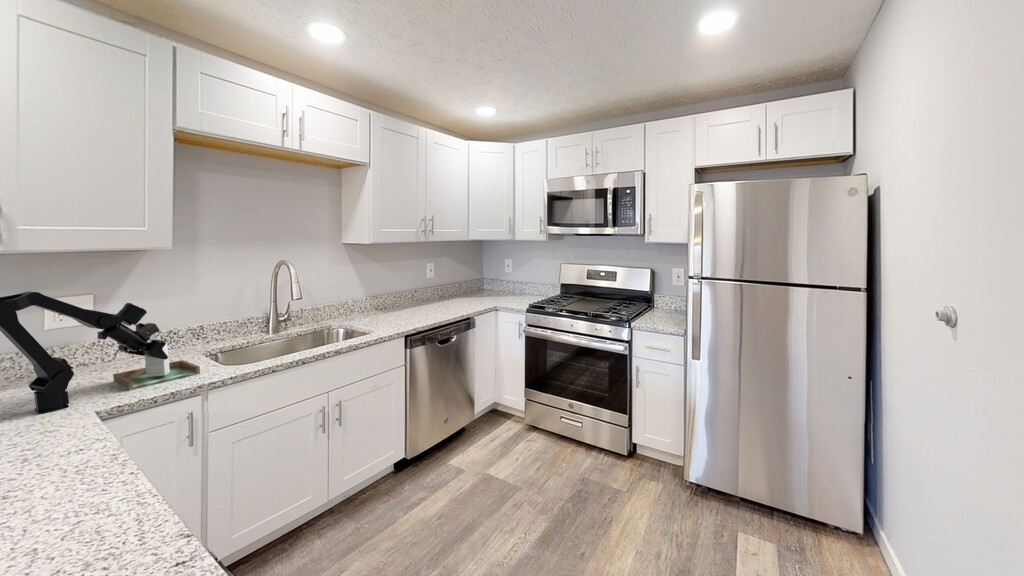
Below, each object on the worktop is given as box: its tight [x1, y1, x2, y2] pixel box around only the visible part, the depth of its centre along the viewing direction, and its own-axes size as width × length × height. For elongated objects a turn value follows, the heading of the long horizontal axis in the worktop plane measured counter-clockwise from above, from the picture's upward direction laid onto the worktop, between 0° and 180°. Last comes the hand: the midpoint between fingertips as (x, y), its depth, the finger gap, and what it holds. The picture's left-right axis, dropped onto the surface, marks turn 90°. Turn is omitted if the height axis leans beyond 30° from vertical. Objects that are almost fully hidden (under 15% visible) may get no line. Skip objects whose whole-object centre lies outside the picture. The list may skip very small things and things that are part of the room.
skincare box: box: [144, 342, 170, 377], centre depth 161 cm, size 6×4×12 cm
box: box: [112, 359, 201, 391], centre depth 163 cm, size 22×16×3 cm
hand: (160, 357), depth 162 cm, fingers closed on skincare box, 7 cm apart
